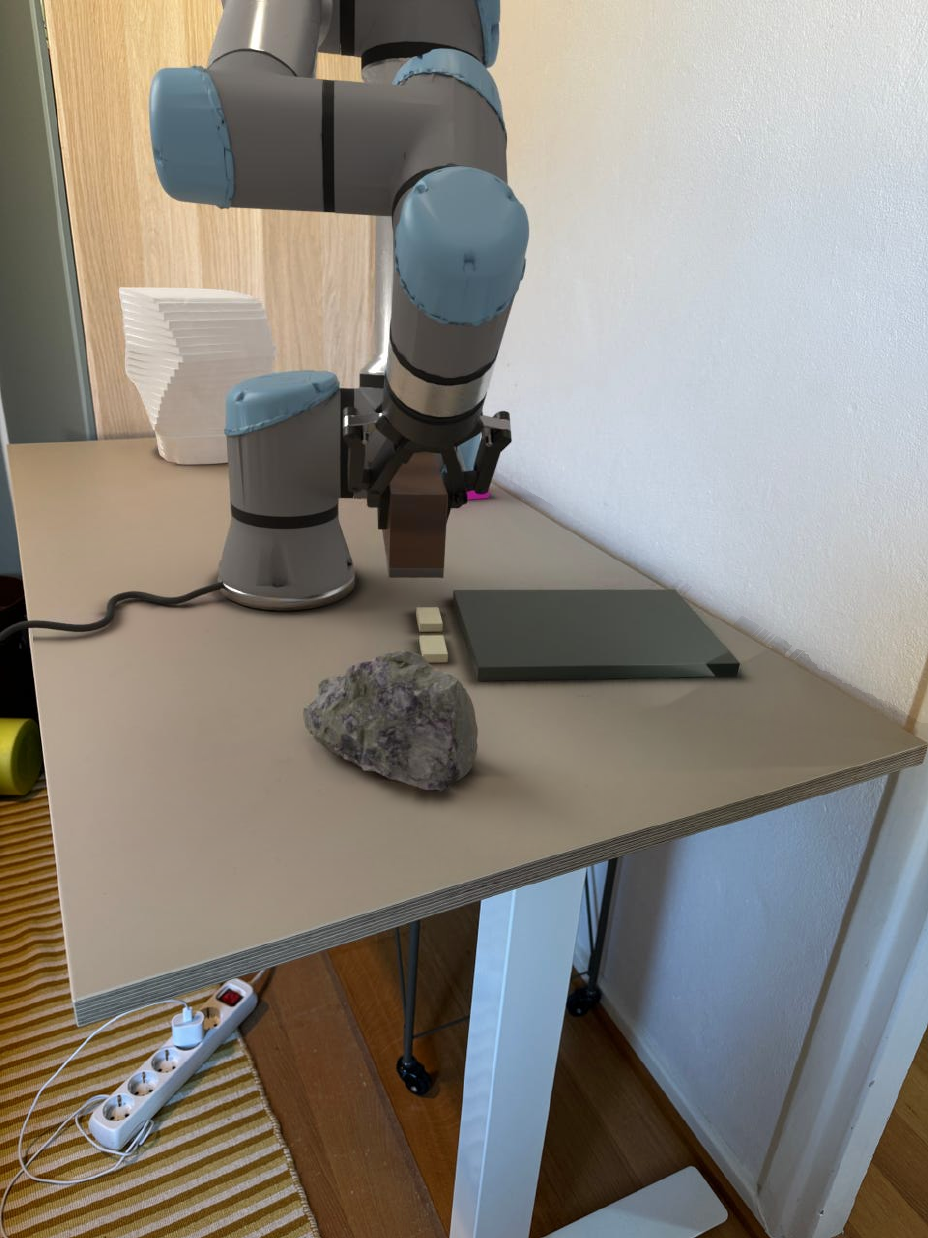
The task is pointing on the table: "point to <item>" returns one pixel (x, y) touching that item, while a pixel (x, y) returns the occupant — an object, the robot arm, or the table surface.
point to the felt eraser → (416, 520)
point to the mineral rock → (398, 720)
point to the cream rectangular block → (429, 619)
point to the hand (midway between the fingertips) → (411, 516)
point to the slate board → (587, 635)
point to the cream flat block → (433, 648)
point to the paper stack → (192, 362)
